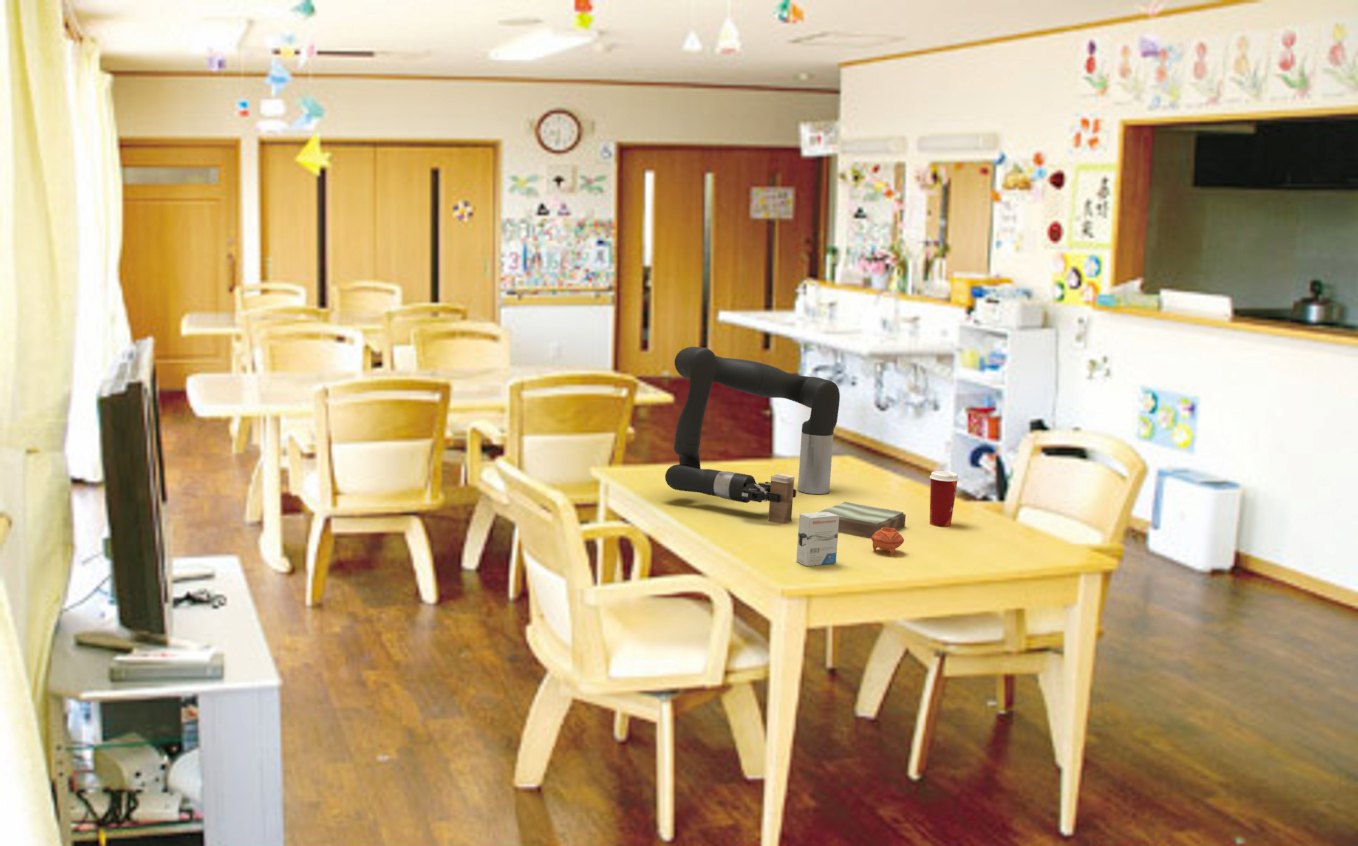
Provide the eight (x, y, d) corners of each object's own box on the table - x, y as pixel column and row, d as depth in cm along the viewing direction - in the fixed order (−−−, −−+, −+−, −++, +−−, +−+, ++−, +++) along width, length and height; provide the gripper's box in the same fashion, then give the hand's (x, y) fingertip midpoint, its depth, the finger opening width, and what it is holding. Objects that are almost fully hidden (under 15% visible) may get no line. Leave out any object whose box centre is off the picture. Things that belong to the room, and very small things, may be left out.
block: (776, 517, 372) (779, 473, 370) (791, 520, 369) (794, 476, 367) (768, 520, 368) (771, 476, 366) (783, 523, 366) (786, 478, 363)
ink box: (825, 558, 333) (828, 510, 331) (836, 563, 329) (840, 515, 327) (795, 561, 329) (798, 512, 327) (806, 566, 325) (809, 517, 323)
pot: (870, 554, 338) (871, 526, 339) (870, 554, 346) (871, 526, 346) (904, 556, 337) (905, 528, 338) (902, 555, 345) (903, 528, 345)
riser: (843, 515, 379) (844, 501, 378) (904, 526, 369) (905, 512, 369) (813, 527, 364) (814, 512, 363) (877, 539, 354) (878, 524, 354)
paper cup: (960, 527, 373) (964, 475, 370) (935, 528, 370) (940, 476, 367) (944, 520, 380) (948, 469, 377) (920, 521, 377) (924, 470, 375)
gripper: (722, 476, 368) (776, 486, 360) (748, 469, 380) (801, 478, 372) (720, 504, 369) (774, 514, 361) (746, 495, 381) (799, 505, 373)
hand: (788, 496), depth 366 cm, fingers open, 8 cm apart
